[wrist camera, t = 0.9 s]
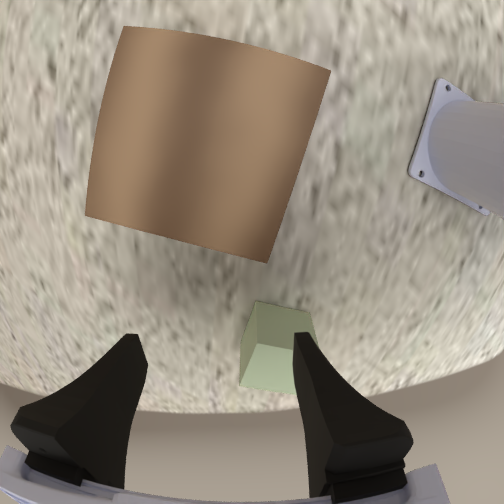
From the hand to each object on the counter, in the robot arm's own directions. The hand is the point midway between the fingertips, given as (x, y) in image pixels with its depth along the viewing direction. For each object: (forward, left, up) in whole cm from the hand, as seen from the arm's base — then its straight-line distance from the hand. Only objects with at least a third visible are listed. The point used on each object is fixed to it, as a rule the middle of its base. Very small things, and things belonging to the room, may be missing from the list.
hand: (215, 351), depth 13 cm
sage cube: (-5, +5, -10) cm, 12 cm away
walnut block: (+4, -8, -10) cm, 13 cm away
